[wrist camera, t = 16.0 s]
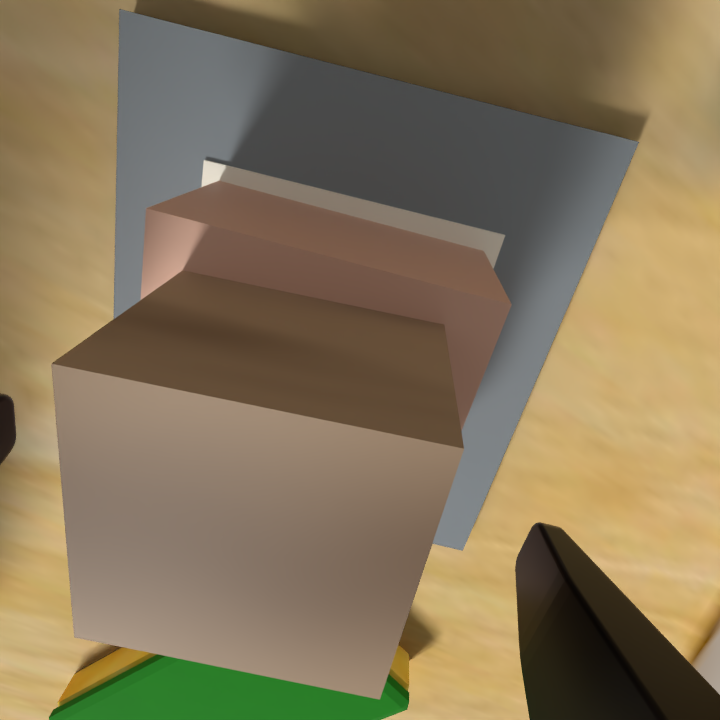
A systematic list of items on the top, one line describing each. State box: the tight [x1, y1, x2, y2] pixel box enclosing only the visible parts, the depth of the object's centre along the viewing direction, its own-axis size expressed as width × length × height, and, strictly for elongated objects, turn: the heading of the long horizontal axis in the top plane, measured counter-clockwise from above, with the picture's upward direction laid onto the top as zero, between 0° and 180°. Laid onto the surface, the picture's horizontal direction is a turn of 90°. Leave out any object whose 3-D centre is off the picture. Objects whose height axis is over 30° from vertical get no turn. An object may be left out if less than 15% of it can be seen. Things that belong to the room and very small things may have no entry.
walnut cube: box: [52, 270, 464, 700], centre depth 9 cm, size 5×5×4 cm
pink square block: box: [141, 181, 512, 431], centre depth 13 cm, size 7×7×4 cm
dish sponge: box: [49, 645, 409, 720], centre depth 22 cm, size 7×14×2 cm, turn 128°
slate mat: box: [114, 9, 639, 551], centre depth 15 cm, size 13×12×1 cm
